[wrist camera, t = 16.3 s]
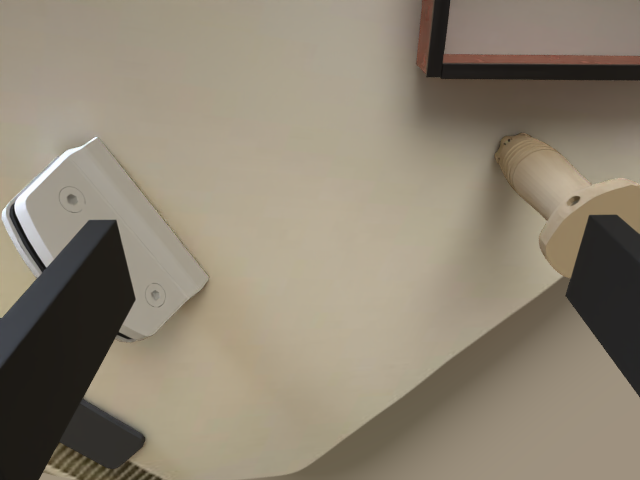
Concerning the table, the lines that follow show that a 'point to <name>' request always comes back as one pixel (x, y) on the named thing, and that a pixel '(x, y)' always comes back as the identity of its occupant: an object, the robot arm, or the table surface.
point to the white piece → (105, 204)
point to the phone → (101, 436)
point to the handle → (563, 196)
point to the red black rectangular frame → (509, 58)
